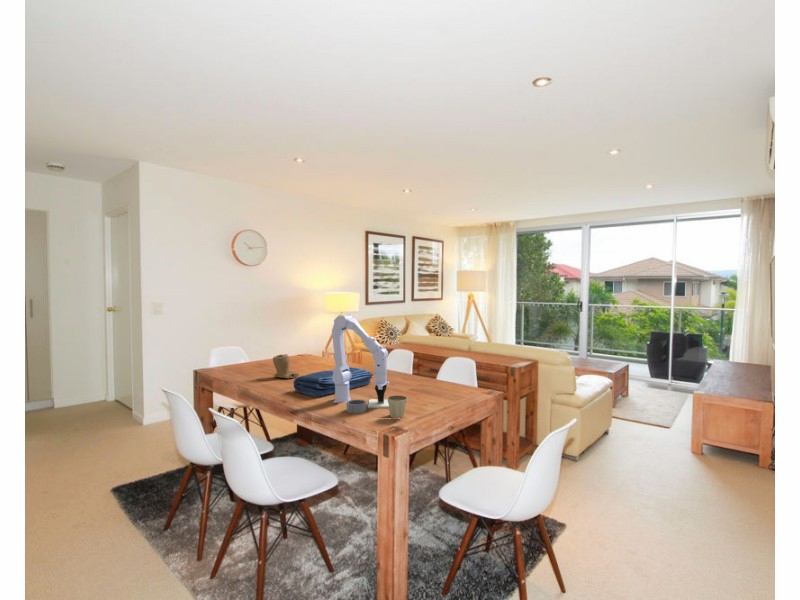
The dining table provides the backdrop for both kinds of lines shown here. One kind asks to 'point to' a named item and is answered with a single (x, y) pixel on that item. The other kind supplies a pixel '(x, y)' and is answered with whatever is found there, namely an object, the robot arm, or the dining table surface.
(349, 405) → the bowl
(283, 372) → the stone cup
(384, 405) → the lid
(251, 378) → the dining table surface
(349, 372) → the robot arm
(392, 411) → the flower pot
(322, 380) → the towel
